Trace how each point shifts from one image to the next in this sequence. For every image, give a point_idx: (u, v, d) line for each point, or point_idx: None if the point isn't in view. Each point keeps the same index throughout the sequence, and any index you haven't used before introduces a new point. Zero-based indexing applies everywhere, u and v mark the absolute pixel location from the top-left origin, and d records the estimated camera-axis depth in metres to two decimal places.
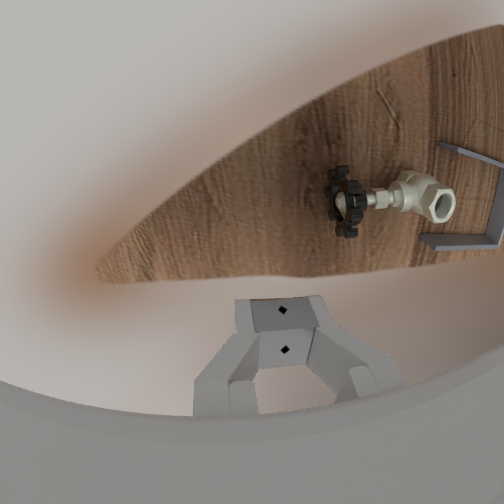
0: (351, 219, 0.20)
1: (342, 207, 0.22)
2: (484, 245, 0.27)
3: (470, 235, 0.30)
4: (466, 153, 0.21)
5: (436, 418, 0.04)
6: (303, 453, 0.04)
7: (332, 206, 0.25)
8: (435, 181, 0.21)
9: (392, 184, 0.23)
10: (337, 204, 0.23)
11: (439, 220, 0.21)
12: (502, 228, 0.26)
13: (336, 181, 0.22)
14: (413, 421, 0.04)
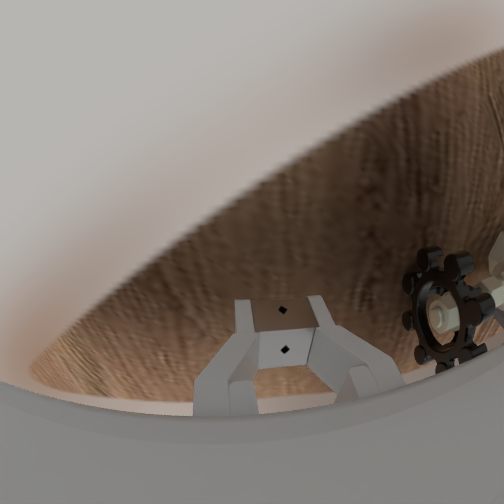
0: None
1: (443, 329, 0.10)
2: None
3: None
4: None
5: (436, 418, 0.04)
6: (303, 453, 0.04)
7: (416, 311, 0.12)
8: None
9: (502, 265, 0.10)
10: (434, 321, 0.10)
11: None
12: None
13: (442, 281, 0.10)
14: (413, 421, 0.04)
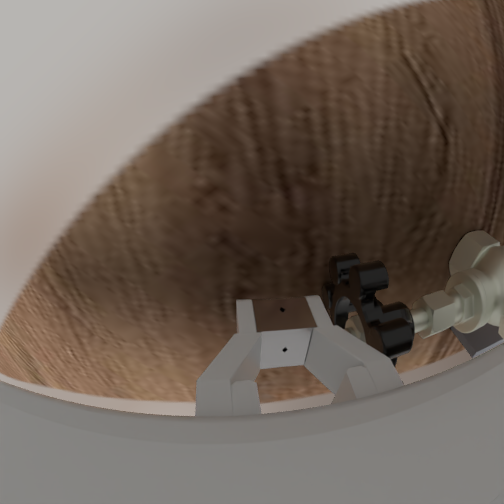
0: None
1: None
2: None
3: None
4: None
5: (436, 418, 0.04)
6: (303, 453, 0.04)
7: None
8: None
9: (458, 277, 0.10)
10: None
11: None
12: None
13: (350, 298, 0.09)
14: (413, 420, 0.04)
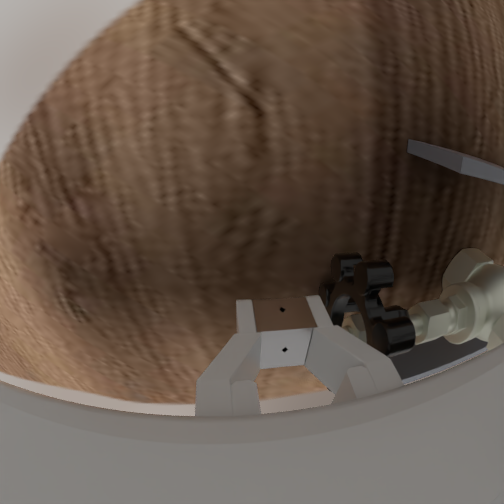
0: None
1: None
2: None
3: None
4: (485, 174, 0.07)
5: (436, 418, 0.04)
6: (303, 453, 0.04)
7: None
8: None
9: (453, 288, 0.10)
10: None
11: None
12: None
13: (352, 295, 0.09)
14: (413, 421, 0.04)
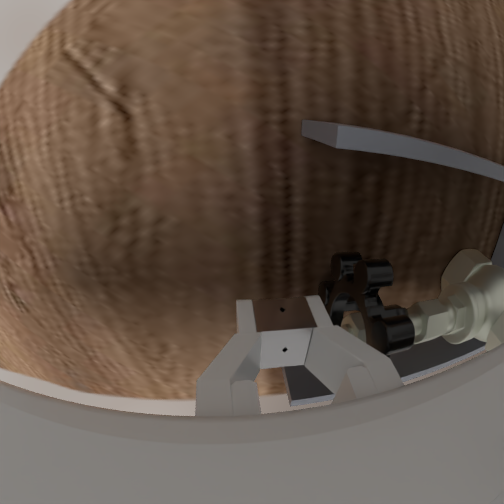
0: None
1: None
2: (454, 360, 0.13)
3: None
4: (389, 147, 0.06)
5: (436, 418, 0.04)
6: (303, 453, 0.04)
7: None
8: None
9: (452, 288, 0.10)
10: None
11: None
12: None
13: (352, 293, 0.09)
14: (414, 420, 0.04)
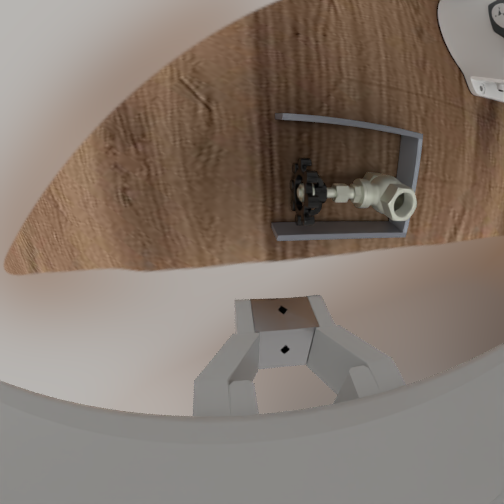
0: (307, 206, 0.22)
1: (302, 196, 0.25)
2: (374, 234, 0.28)
3: (359, 222, 0.30)
4: (300, 118, 0.22)
5: (436, 418, 0.04)
6: (303, 453, 0.04)
7: (294, 197, 0.27)
8: (398, 182, 0.24)
9: (355, 181, 0.26)
10: (298, 194, 0.25)
11: (398, 218, 0.24)
12: None
13: (298, 172, 0.24)
14: (413, 421, 0.04)
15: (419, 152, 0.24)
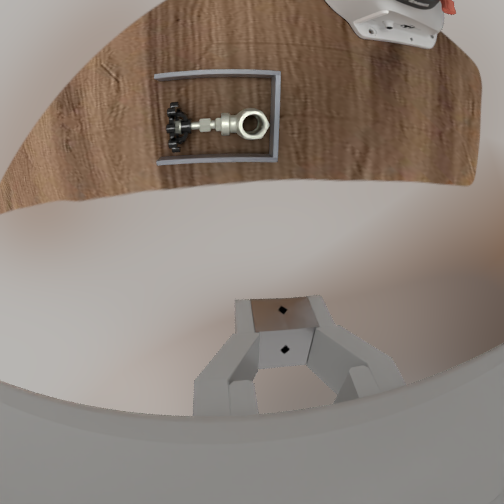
0: None
1: None
2: (241, 158, 0.33)
3: (236, 154, 0.36)
4: (166, 75, 0.27)
5: (436, 418, 0.04)
6: (303, 453, 0.04)
7: (174, 133, 0.32)
8: (255, 110, 0.30)
9: None
10: None
11: (250, 136, 0.29)
12: (274, 138, 0.33)
13: None
14: (414, 420, 0.04)
15: (278, 86, 0.29)
